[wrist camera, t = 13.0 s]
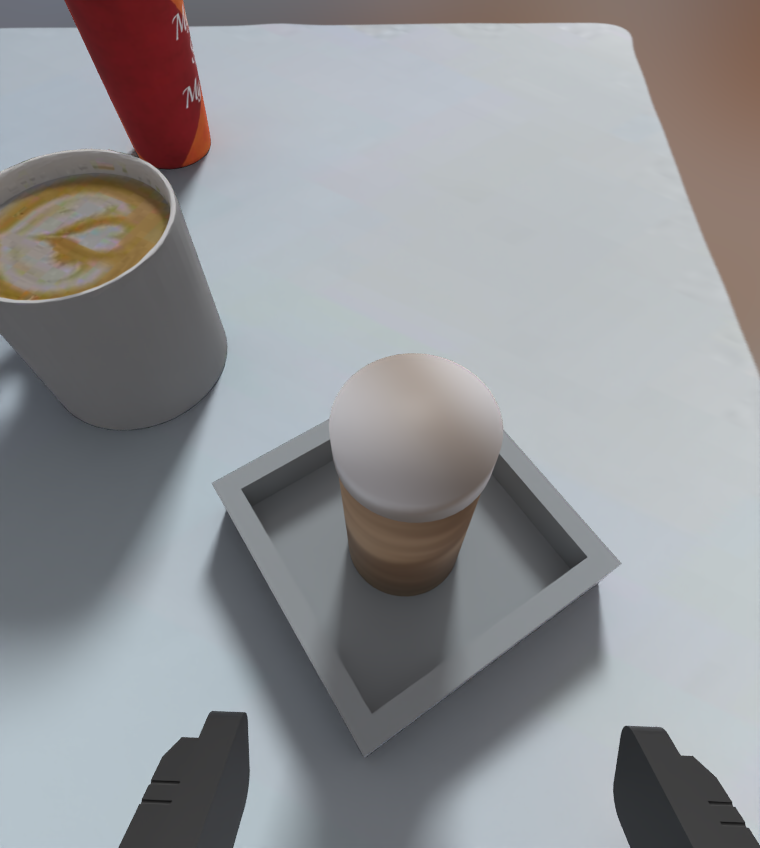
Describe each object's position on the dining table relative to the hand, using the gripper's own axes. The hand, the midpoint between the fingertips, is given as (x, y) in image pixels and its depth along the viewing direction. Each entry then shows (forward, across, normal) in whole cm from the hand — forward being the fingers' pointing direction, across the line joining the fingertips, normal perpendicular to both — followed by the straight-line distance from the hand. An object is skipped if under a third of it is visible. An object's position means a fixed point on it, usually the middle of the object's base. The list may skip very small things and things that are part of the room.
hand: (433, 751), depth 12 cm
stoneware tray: (+16, 0, -3) cm, 16 cm away
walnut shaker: (+15, 0, -2) cm, 15 cm away
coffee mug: (+24, -17, +5) cm, 30 cm away
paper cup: (+38, -18, +19) cm, 46 cm away
